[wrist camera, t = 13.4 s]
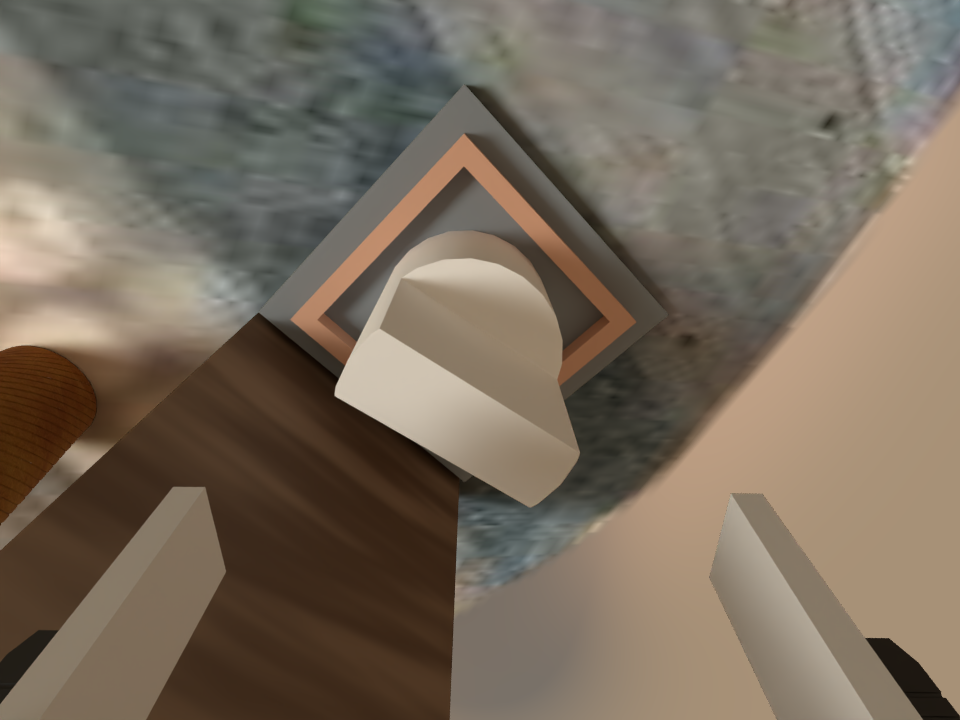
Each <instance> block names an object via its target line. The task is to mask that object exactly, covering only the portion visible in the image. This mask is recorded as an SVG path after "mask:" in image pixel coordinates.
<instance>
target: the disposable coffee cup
mask: <svg viewBox="0 0 960 720" xmlns="http://www.w3.org/2000/svg"><path fill="white" fill-rule="evenodd" d="M95 414H96V398H95V395H94V391H93V389H92V387H91V385H90V383H89V381H88V380H87V378H86V377H85V376H84V374H83V373H82V372H81V371H80V370H79V369H78V368H77V367H76V366H75V365H74V364H72V363H71V362H70V361H68V360H67V359H66V358H64V357H62V356H60V355H58V354H56V353H54V352H52V351H49V350H46V349H43V348H38V347H33V346H16V347H11V348H8V349H6V350H3V351H0V525H1V523H2V522H4V521H5V520H6V518H7V517H8V516H9V514H10V513H12V512H13V511H14V510H15V508H16V507H17V505H18V504H20V503H21V502H22V501H23V500H24V499H25V497H24V496H27V495H28V494H29V493H30V492H31V490H32V488H34V487H35V486H36V485H37V484H38V483H39V480H41V479H42V478H43V477H44V476H45V475H46V473H47V472H49V470H50V469H51V468H52V467H53V466H52V465H55V464H56V463H57V461H58V460H59V458H61V457H62V456H63V455H64V453H65V451H67V450H68V449H69V448H70V447H71V446H72V445H71V444H73V443H74V442H75V441H76V440H77V438H79V437H80V436H81V435H82V433H83V432H84V431H85V430H86V429H87V428H88V427H89V426H90V425H91V423H92V421H93V419H94V417H95Z"/></svg>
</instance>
